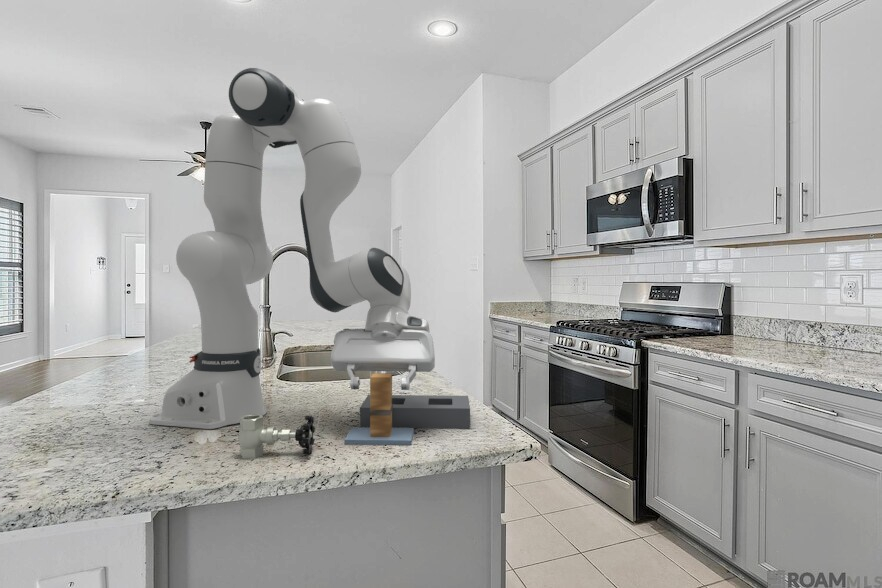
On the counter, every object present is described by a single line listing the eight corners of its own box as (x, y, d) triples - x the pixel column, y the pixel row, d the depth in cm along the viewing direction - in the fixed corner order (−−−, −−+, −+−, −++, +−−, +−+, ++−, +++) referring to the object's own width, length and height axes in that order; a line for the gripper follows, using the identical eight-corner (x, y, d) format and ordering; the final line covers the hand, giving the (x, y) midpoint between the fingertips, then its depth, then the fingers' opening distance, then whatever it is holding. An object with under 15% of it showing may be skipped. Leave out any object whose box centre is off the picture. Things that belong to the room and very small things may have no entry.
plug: (369, 437, 87) (369, 377, 87) (372, 430, 91) (372, 373, 90) (390, 437, 87) (390, 377, 87) (392, 430, 91) (392, 373, 90)
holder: (359, 427, 95) (359, 407, 95) (368, 412, 105) (368, 394, 105) (470, 428, 95) (470, 408, 95) (467, 413, 105) (468, 395, 105)
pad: (344, 444, 86) (344, 439, 86) (352, 431, 93) (352, 427, 93) (411, 444, 85) (411, 440, 85) (413, 432, 92) (413, 427, 92)
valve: (232, 463, 77) (308, 461, 78) (232, 423, 77) (308, 421, 78) (245, 448, 84) (315, 446, 85) (244, 411, 83) (314, 410, 84)
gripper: (333, 319, 96) (320, 378, 86) (435, 320, 95) (433, 379, 86) (338, 338, 100) (327, 396, 91) (435, 339, 100) (434, 397, 91)
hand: (379, 388), depth 88 cm, fingers open, 8 cm apart
